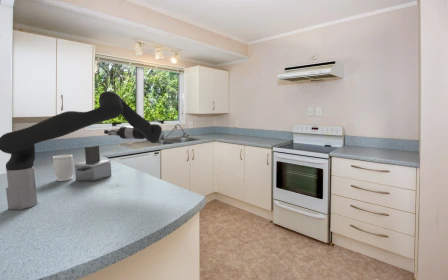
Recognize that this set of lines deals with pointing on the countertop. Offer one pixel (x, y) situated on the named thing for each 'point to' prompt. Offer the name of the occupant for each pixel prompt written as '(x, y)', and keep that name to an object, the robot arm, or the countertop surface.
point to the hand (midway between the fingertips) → (105, 131)
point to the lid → (92, 157)
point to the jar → (63, 167)
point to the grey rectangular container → (93, 172)
